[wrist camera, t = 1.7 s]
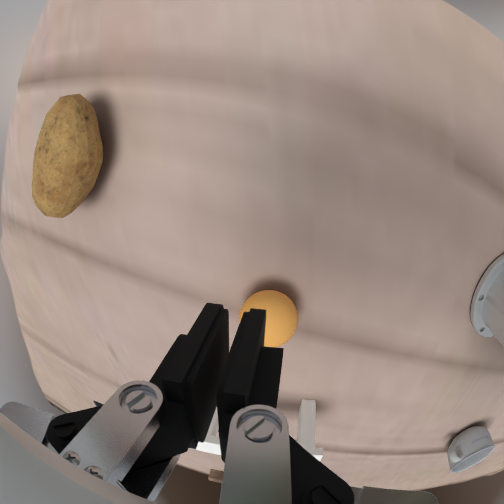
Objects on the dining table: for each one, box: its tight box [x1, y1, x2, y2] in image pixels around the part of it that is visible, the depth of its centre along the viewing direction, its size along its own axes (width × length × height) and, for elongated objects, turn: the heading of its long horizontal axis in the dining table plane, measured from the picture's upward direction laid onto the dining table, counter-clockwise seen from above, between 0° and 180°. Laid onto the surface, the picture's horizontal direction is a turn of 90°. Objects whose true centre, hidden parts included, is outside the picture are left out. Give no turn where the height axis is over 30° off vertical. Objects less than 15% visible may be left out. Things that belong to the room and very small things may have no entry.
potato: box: [32, 94, 103, 218], centre depth 24 cm, size 10×14×8 cm
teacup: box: [447, 426, 495, 473], centre depth 32 cm, size 14×11×8 cm
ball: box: [239, 290, 298, 347], centre depth 28 cm, size 6×6×6 cm
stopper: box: [209, 469, 224, 483], centre depth 46 cm, size 20×2×2 cm, turn 88°
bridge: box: [191, 399, 323, 461], centre depth 32 cm, size 3×17×10 cm, turn 88°
